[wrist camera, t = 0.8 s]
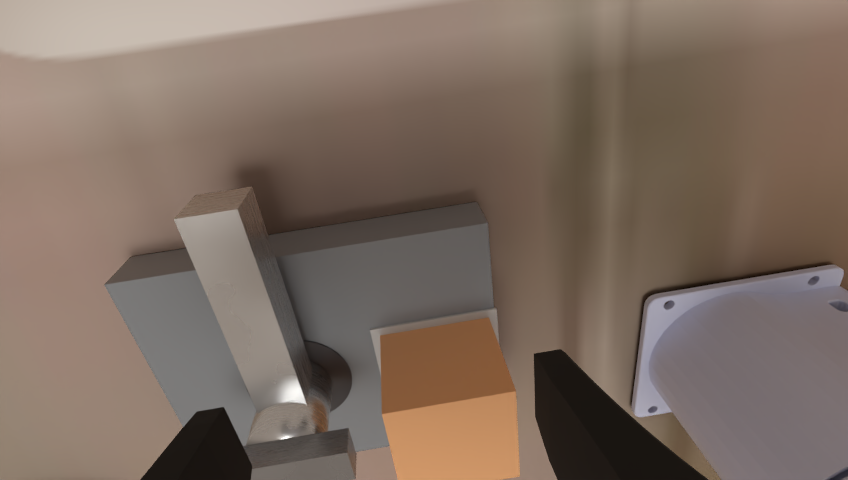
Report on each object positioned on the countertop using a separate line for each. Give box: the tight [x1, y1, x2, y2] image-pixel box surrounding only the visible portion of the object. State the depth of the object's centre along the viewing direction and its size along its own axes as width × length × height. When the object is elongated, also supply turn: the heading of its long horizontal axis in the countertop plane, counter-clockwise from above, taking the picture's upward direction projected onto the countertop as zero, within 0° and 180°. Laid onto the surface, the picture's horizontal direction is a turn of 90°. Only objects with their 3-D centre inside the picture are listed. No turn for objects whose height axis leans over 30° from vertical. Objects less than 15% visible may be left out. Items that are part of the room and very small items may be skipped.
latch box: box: [105, 202, 499, 452], centre depth 20 cm, size 14×11×2 cm
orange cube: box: [380, 317, 520, 480], centre depth 18 cm, size 4×4×4 cm
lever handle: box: [174, 187, 356, 480], centre depth 15 cm, size 5×10×4 cm, turn 7°
